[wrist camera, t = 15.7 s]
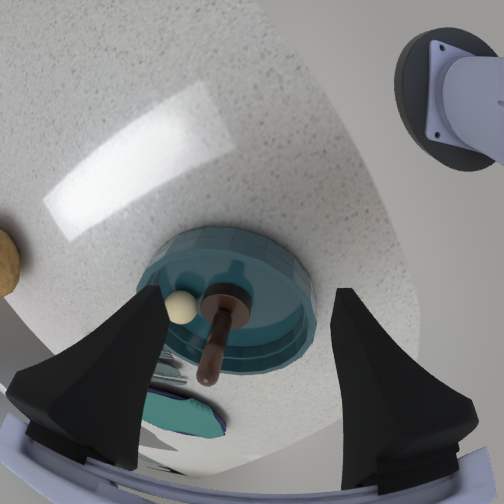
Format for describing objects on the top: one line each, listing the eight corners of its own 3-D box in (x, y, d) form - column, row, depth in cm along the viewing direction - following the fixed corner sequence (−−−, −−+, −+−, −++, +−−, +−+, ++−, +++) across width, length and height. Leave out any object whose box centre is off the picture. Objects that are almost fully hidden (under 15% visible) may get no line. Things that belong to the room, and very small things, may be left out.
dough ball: (188, 306, 22) (155, 300, 23) (192, 333, 23) (161, 327, 24) (200, 286, 25) (170, 282, 25) (203, 313, 26) (174, 307, 27)
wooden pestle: (248, 281, 24) (229, 370, 16) (255, 318, 26) (240, 401, 19) (198, 282, 24) (165, 364, 17) (210, 317, 27) (185, 395, 20)
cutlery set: (146, 417, 50) (143, 426, 49) (74, 328, 34) (67, 339, 32) (236, 434, 47) (234, 444, 45) (200, 348, 31) (195, 364, 29)
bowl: (324, 228, 20) (328, 255, 18) (304, 352, 29) (304, 380, 26) (134, 221, 22) (114, 244, 19) (170, 339, 31) (160, 363, 28)
